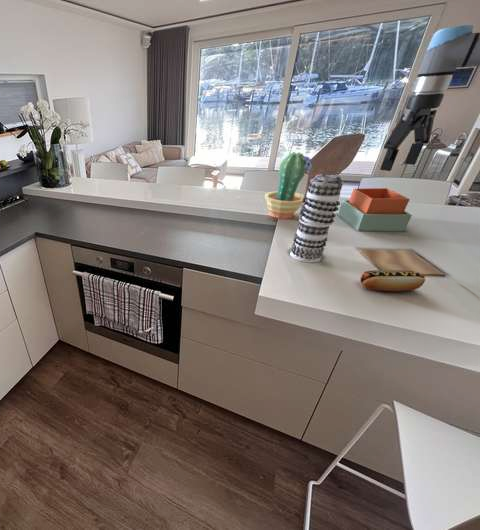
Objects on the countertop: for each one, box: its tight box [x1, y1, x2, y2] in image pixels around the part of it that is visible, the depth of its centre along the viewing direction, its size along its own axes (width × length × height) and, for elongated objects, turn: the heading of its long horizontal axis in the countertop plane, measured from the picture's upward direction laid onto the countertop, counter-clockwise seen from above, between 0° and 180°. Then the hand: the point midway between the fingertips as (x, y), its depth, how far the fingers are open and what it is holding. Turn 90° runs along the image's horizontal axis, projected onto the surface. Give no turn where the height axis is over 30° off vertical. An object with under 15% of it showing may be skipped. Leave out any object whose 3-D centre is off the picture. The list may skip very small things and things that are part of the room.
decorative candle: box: [289, 173, 346, 264], centre depth 85 cm, size 9×9×25 cm
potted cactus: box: [264, 151, 313, 220], centre depth 115 cm, size 15×16×25 cm
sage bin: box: [337, 199, 413, 232], centre depth 106 cm, size 14×16×7 cm
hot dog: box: [359, 269, 426, 292], centre depth 72 cm, size 5×13×5 cm, turn 82°
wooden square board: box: [358, 248, 446, 277], centre depth 84 cm, size 14×14×1 cm
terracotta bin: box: [349, 187, 410, 214], centre depth 105 cm, size 11×13×11 cm
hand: (397, 167), depth 95 cm, fingers open, 13 cm apart
